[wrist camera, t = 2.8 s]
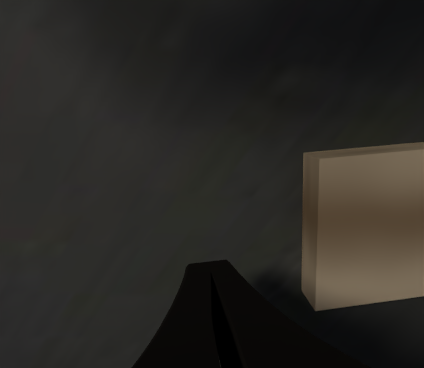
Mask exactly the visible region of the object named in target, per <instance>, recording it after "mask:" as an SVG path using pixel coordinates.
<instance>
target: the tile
mask: <svg viewBox="0 0 424 368" xmlns="http://www.w3.org/2000/svg"><path fill="white" fill-rule="evenodd" d="M302 292H303V293H304V295H305V296H306V298H307V299H308V301H309V302H310V304H311V305H312V307H313V308H314V310H315V311H320V310H327V309H334V308H341V307H349V306H356V305H363V304H370V303H377V302H385V301H392V300H399V299H406V298H413V297H421V296H424V142H418V143H407V144H396V145H385V146H373V147H362V148H351V149H340V150H329V151H318V152H306V153H304V155H303V224H302Z"/></svg>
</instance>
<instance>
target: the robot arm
mask: <svg viewBox="0 0 424 368" xmlns="http://www.w3.org/2000/svg"><path fill="white" fill-rule="evenodd" d="M218 356H219V357H218ZM219 360H220V362H219ZM220 364H221V368H371V367H369V366H367V365H365V364H363V363H361V362H359V361H357V360H355V359H354V358H352V357H350V356H348V355H346V354H344V353H343V352H341V351H339V350H337V349H336V348H334V347H332V346H330V345H329V344H327V343H325V342H323V341H322V340H320V339H319V338H317V337H315V336H314V335H312V334H311V333H309V332H308V331H306V330H305V329H303V328H302V327H300V326H299V325H297V324H296V323H295V322H293V321H292V320H290V319H289V318H288V317H286V316H285V315H284V314H282V313H281V312H280V311H279V310H278V309H276V308H275V307H274V306H273V305H272V304H270V303H269V302H268V301H267V300H266V299H265V298H264V297H262V296H261V295H260V294H259V293H258V292H257V291H256V290H255V289H254V288H253V287H252V286H251V285H250V284H249V283H248V282H247V281H246V280H245V279H244V278H243V277H242V276H241V275H240V274H239V273H238V272H237V270H236V269H235V268H234V267H233V266H232V265H231V263H230V262H228V261H227V260H220V261H211V262H202V263H193V264H189V265H188V266H187V267H186V270H185V274H184V278H183V281H182V283H181V286H180V288H179V291H178V293H177V295H176V297H175V299H174V302H173V304H172V306H171V308H170V310H169V311H168V313H167V315H166V317H165V319H164V320H163V322H162V324H161V326H160V327H159V329H158V331H157V332H156V334H155V336H154V337H153V339H152V340H151V342H150V343H149V345H148V346H147V348H146V349H145V350H144V352H143V353H142V355H141V356H140V358H139V359H138V360H137V361H136V363H135V364H134V365H133V367H132V368H220Z"/></svg>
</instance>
